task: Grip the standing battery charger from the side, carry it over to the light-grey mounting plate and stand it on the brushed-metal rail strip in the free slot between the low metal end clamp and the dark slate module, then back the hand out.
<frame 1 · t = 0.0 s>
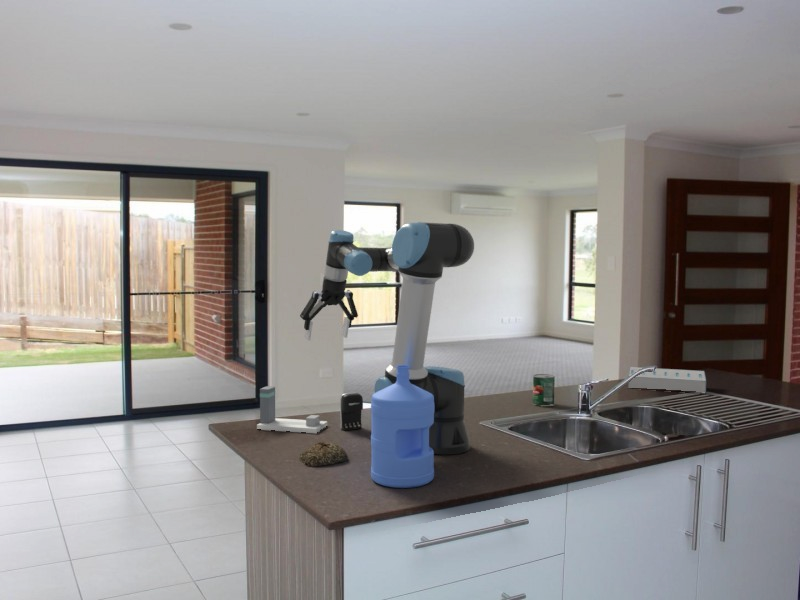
hand: (326, 337, 231), 28 cm above the worktop, tool tilted 20°, fingers open, 13 cm apart
battery charger: (351, 429, 220), on the worktop
mount: (292, 427, 221), on the worktop
dotted white bar: (666, 389, 292), on the worktop
canned tomato: (543, 405, 257), on the worktop
bread roll: (322, 460, 187), on the worktop
water jug: (402, 479, 171), on the worktop
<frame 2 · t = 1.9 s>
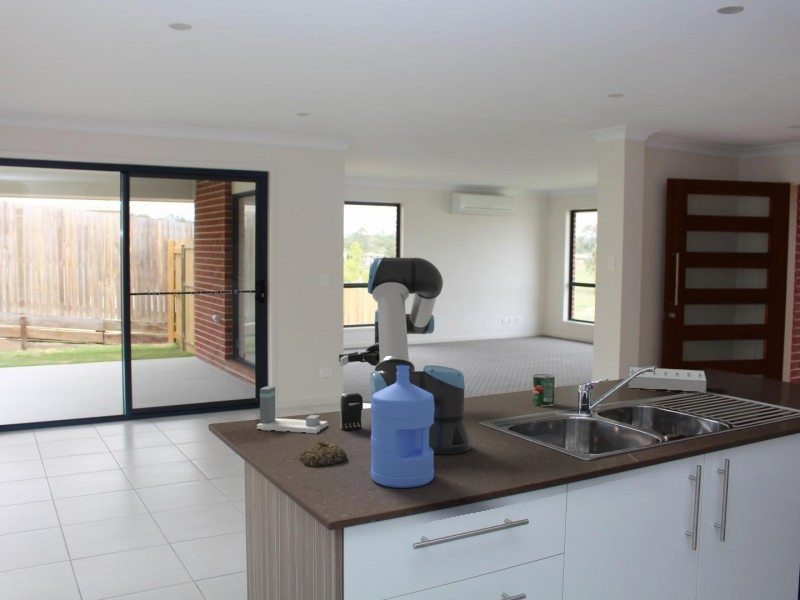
hand: (360, 363, 228), 20 cm above the worktop, tool horizontal, fingers open, 13 cm apart
nothing on the worktop moved.
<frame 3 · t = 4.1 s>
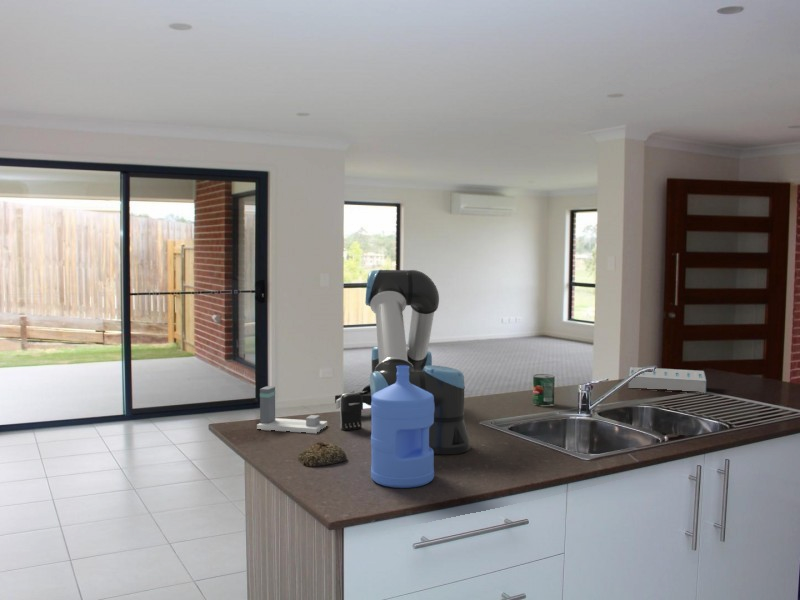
hand: (356, 405, 225), 6 cm above the worktop, tool horizontal, fingers open, 13 cm apart
nothing on the worktop moved.
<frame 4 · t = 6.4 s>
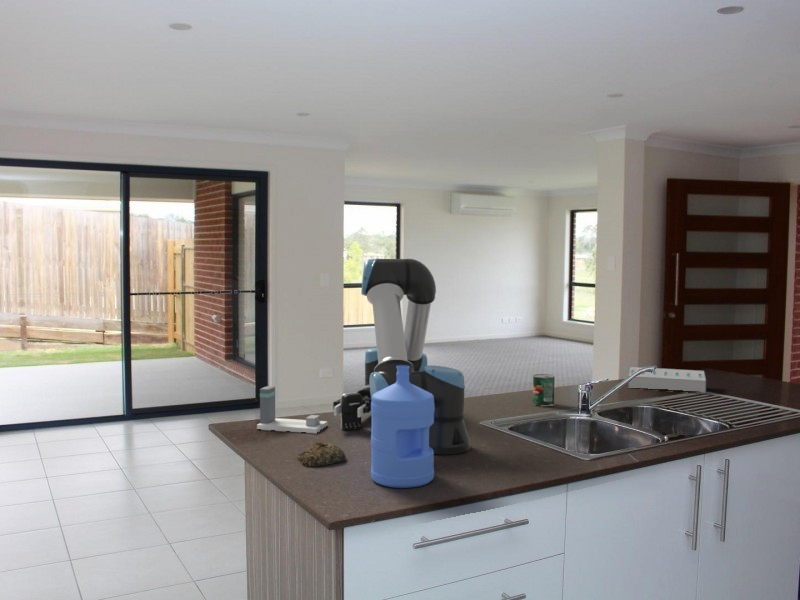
hand: (346, 412, 214), 7 cm above the worktop, tool horizontal, fingers closed on battery charger, 7 cm apart
battery charger: (352, 429, 220), on the worktop, touching gripper
everything else where it was.
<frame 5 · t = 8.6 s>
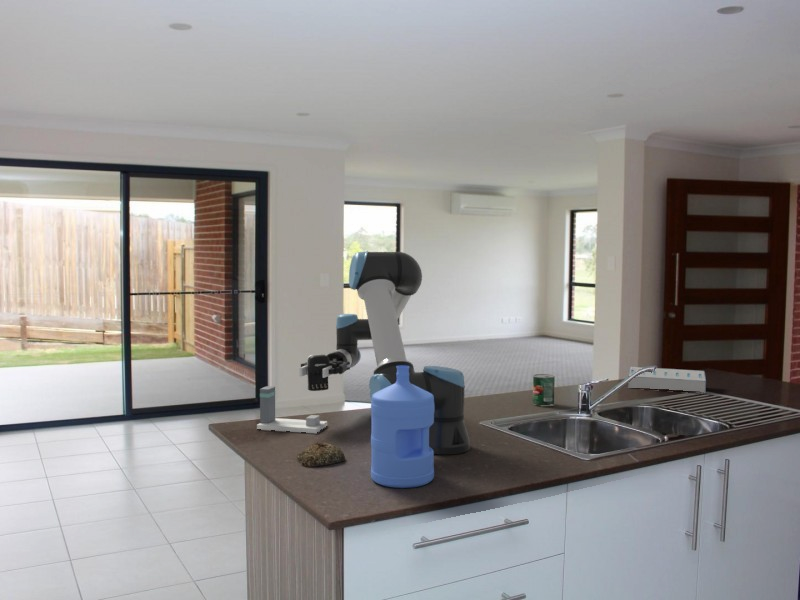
hand: (312, 372, 216), 18 cm above the worktop, tool horizontal, fingers closed on battery charger, 7 cm apart
battery charger: (318, 391, 221), point 12 cm above the worktop, touching gripper
everything else where it was.
when the fingers open (9 cm above the worktop, at t = 11.0 s): battery charger drops 1 cm, resting on mount.
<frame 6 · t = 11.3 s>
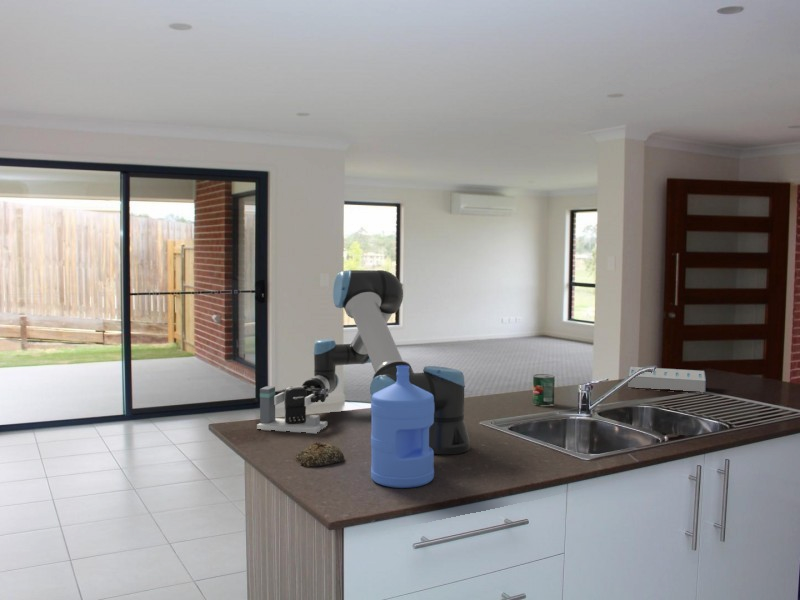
hand: (290, 401, 216), 10 cm above the worktop, tool horizontal, fingers open, 9 cm apart
battery charger: (296, 423, 221), point 1 cm above the worktop, touching mount
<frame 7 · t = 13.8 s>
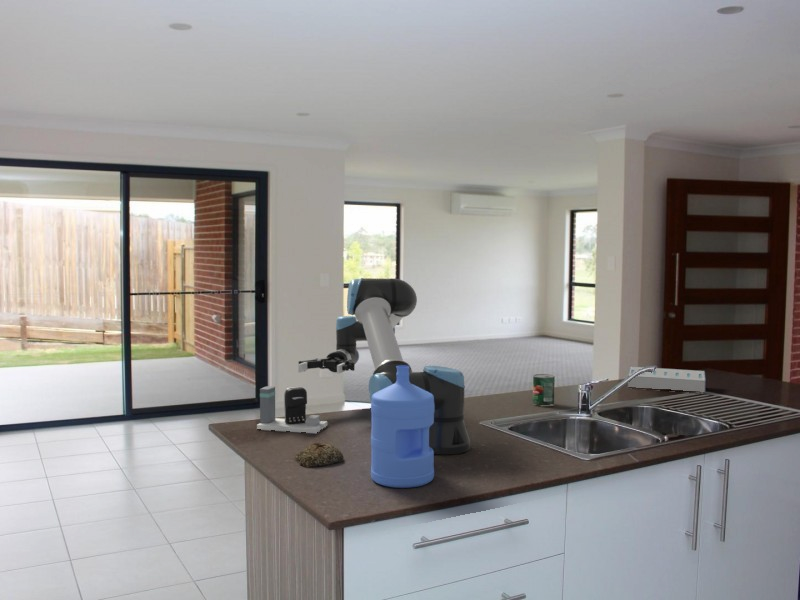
hand: (318, 368, 230), 17 cm above the worktop, tool horizontal, fingers open, 13 cm apart
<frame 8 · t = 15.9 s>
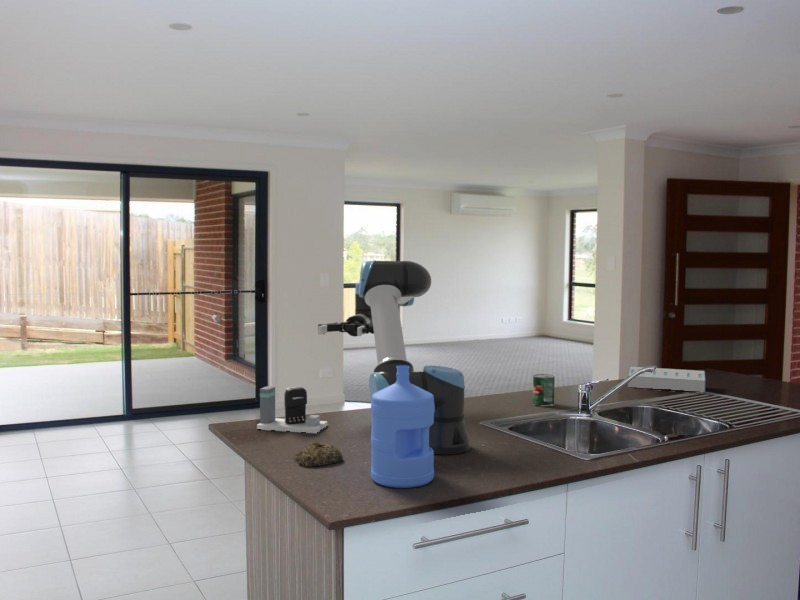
hand: (338, 331, 230), 30 cm above the worktop, tool horizontal, fingers open, 13 cm apart
at the end: battery charger inside the target area (0.5 cm from its centre), point 1.3 cm above the worktop; battery charger tilted 0°; the gripper is holding nothing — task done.
